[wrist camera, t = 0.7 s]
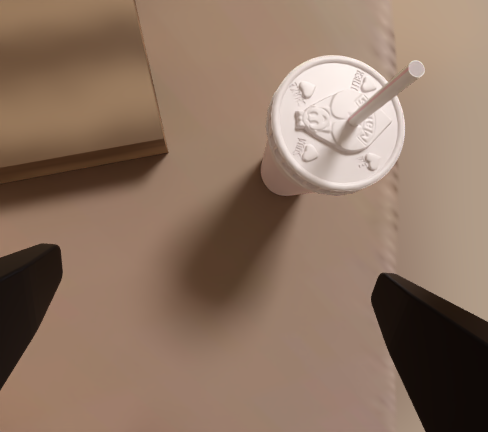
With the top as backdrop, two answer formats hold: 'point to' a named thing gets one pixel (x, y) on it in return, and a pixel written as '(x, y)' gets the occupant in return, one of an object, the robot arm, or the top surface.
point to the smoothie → (334, 127)
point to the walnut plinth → (74, 87)
